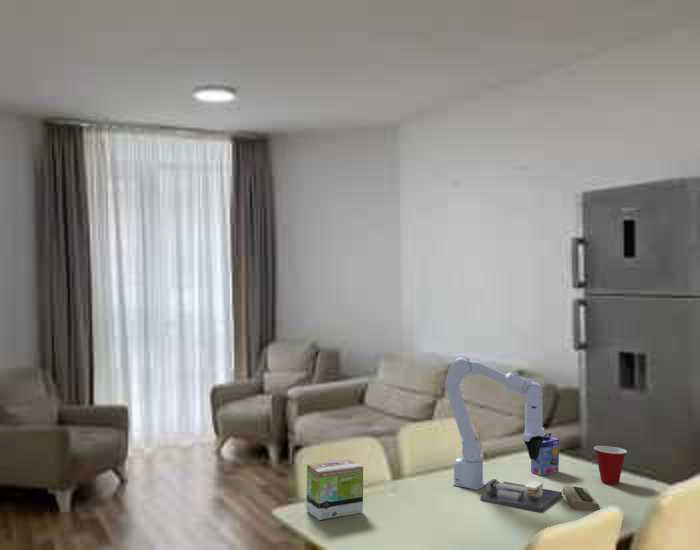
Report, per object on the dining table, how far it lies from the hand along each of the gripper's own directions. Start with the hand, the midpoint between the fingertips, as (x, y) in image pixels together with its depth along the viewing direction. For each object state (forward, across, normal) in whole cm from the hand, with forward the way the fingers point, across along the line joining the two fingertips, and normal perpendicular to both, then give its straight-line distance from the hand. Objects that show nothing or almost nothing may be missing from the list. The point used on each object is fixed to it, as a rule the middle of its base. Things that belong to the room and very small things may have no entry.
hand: (533, 458), depth 240 cm
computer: (+11, -3, -17) cm, 20 cm away
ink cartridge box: (+11, +21, +4) cm, 24 cm away
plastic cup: (+11, +22, -19) cm, 31 cm away
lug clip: (+9, -11, -4) cm, 15 cm away
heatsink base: (+10, -11, 0) cm, 15 cm away
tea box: (+11, -56, +42) cm, 71 cm away
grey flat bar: (+8, -13, +1) cm, 15 cm away
